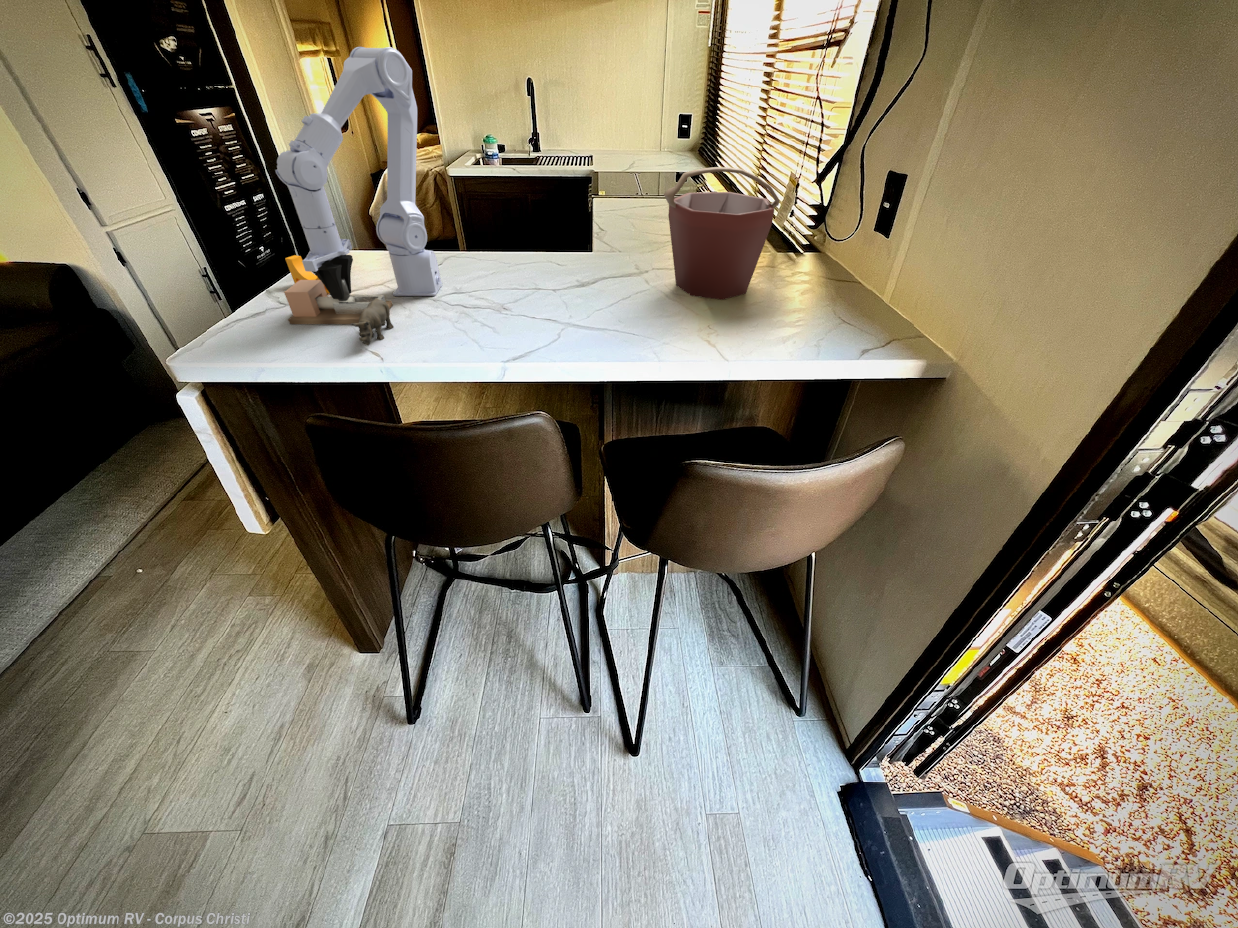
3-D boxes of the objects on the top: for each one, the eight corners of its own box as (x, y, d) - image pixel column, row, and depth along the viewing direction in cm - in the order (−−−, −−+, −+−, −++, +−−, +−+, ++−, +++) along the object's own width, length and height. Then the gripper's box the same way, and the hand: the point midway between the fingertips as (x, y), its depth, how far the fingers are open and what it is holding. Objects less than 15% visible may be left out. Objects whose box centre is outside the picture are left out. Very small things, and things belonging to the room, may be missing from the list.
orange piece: (348, 289, 120) (338, 260, 115) (332, 295, 116) (322, 266, 112) (311, 281, 123) (301, 253, 119) (295, 286, 120) (285, 258, 116)
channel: (386, 305, 109) (383, 295, 108) (379, 313, 105) (376, 303, 104) (344, 305, 109) (341, 295, 107) (336, 314, 105) (332, 303, 104)
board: (392, 305, 112) (391, 300, 111) (377, 323, 104) (376, 319, 103) (310, 305, 111) (309, 300, 110) (289, 324, 103) (287, 319, 103)
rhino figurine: (351, 353, 94) (341, 322, 90) (377, 323, 105) (369, 294, 101) (374, 353, 94) (364, 322, 90) (398, 323, 105) (390, 294, 101)
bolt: (356, 306, 108) (347, 277, 104) (352, 310, 106) (343, 282, 102) (312, 306, 107) (302, 277, 104) (307, 310, 106) (297, 282, 102)
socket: (330, 303, 109) (321, 280, 106) (316, 316, 104) (307, 292, 101) (308, 303, 109) (299, 280, 106) (293, 316, 104) (284, 292, 101)
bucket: (650, 295, 119) (657, 173, 103) (671, 266, 135) (680, 157, 120) (758, 308, 113) (782, 181, 98) (766, 276, 130) (787, 164, 114)
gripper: (319, 236, 91) (344, 310, 99) (357, 216, 102) (376, 284, 111) (281, 235, 91) (309, 309, 100) (323, 215, 102) (344, 283, 111)
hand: (342, 296), depth 105 cm, fingers closed on bolt, 2 cm apart
